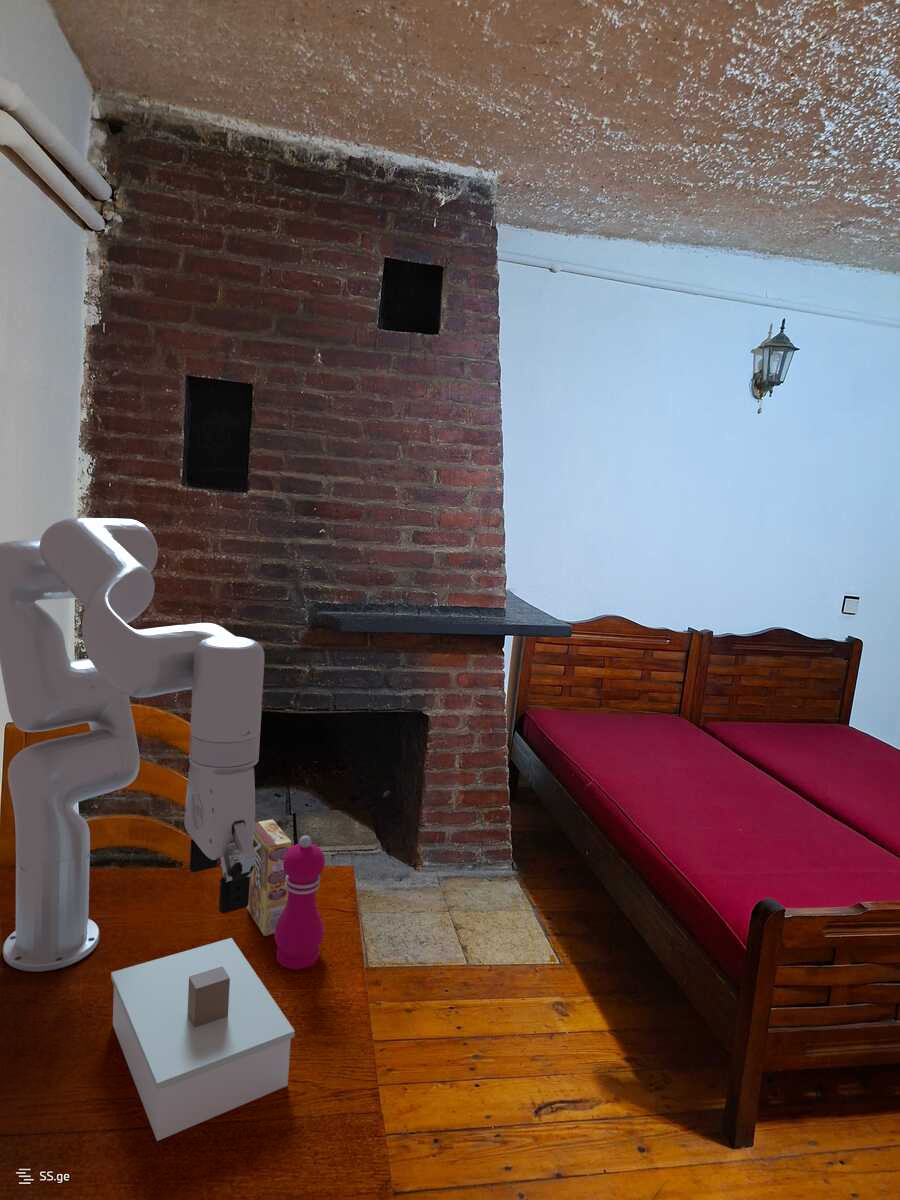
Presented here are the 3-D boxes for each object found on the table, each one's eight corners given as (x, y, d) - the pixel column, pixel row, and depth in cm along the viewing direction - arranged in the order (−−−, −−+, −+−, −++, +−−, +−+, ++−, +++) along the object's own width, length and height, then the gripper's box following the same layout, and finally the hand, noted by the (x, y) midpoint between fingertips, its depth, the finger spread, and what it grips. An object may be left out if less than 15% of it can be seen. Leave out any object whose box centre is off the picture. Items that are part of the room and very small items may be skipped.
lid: (110, 978, 96) (112, 936, 96) (231, 943, 106) (233, 904, 105) (156, 1090, 80) (158, 1040, 79) (294, 1037, 89) (297, 992, 88)
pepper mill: (278, 979, 110) (286, 850, 107) (268, 950, 117) (276, 827, 113) (326, 970, 113) (336, 844, 110) (315, 942, 119) (323, 822, 116)
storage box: (112, 1030, 97) (114, 980, 96) (227, 992, 106) (229, 946, 105) (156, 1147, 82) (158, 1089, 81) (287, 1091, 91) (290, 1038, 89)
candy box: (288, 931, 122) (294, 841, 119) (262, 937, 119) (268, 846, 117) (268, 903, 129) (274, 818, 127) (244, 909, 127) (249, 822, 124)
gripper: (167, 727, 90) (162, 862, 93) (219, 781, 76) (211, 937, 79) (229, 720, 95) (222, 848, 97) (288, 769, 81) (279, 917, 84)
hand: (217, 888), depth 88 cm, fingers open, 9 cm apart
